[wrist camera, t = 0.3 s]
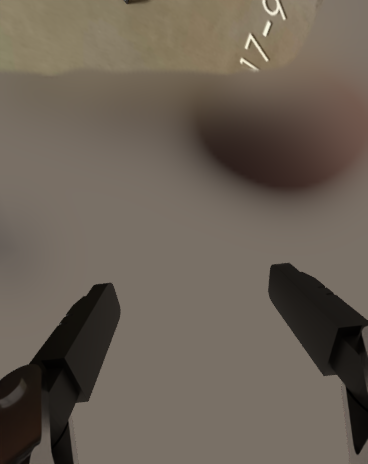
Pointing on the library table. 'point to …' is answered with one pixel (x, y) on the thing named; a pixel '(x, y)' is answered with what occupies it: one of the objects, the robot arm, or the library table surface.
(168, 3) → the library table surface
